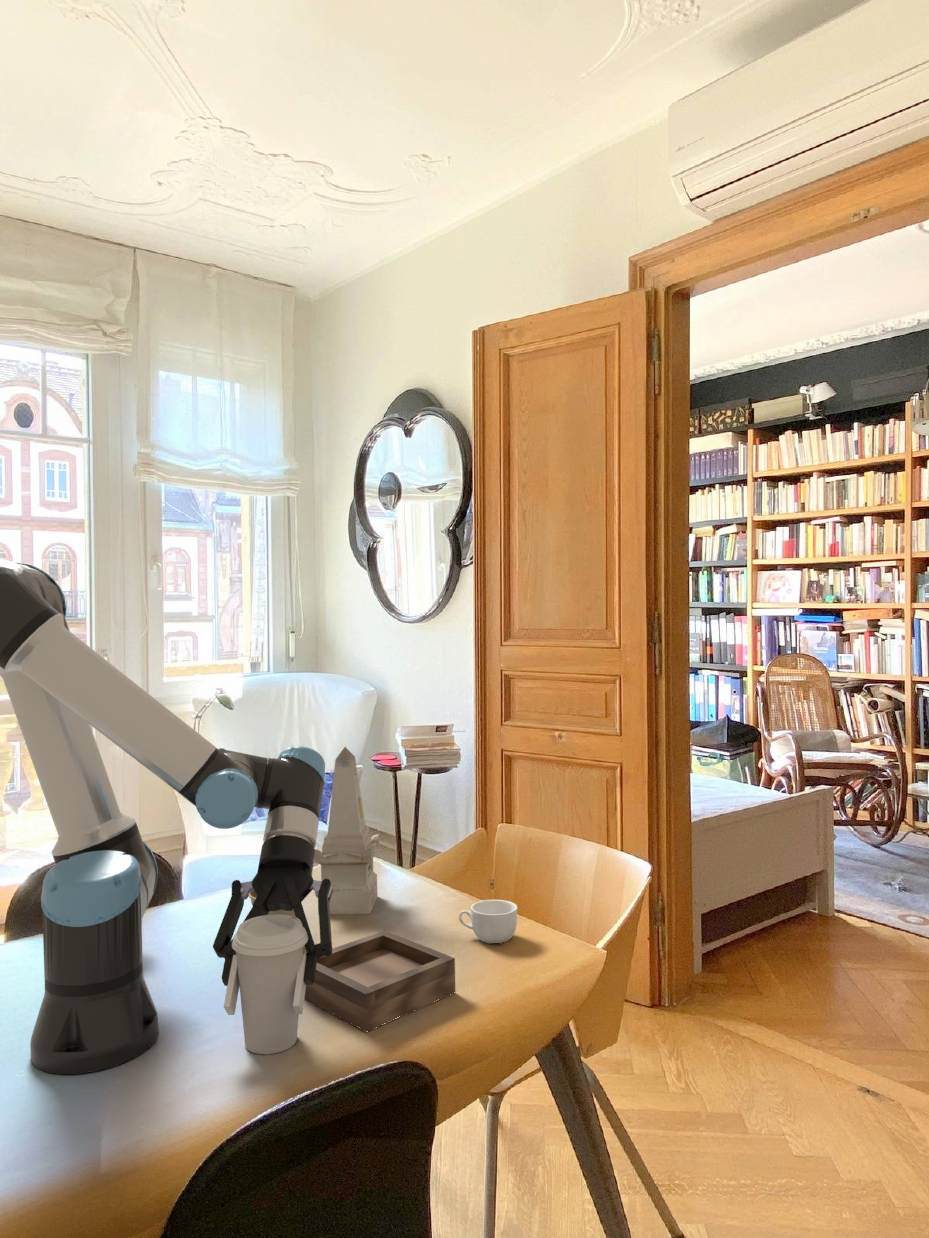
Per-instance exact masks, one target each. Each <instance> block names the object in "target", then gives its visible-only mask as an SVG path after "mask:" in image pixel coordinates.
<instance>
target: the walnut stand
mask: <svg viewBox="0 0 929 1238" xmlns="http://www.w3.org/2000/svg"><path fill="white" fill-rule="evenodd" d="M455 959H456V958H455V957H453V956H450V955H448V954H445V953H443V952H440V951H438V950H435V949H433V948H430V947H428V946H426V945H422V944H421V943H418V942H416V941H413V940H410V939H408V938H406V937H403V936H400V935H398V934H396V933H392V932H390V931H388V930H385V929H384V930H382V931H379V932H376V933H373V934H370V935H367V936H364V937H361V938H358V939H356V940H353V941H350V942H348V943H345V944H342V945H341V944H340V945H339V946H335V947H332V954H331V955H330V956H323V957H320V958H319V959H318V960H317V965H316V973H315V981H314V983H313V985H306V990H305V998H304V1000H307V1001H308V1002H310V1003H312V1004H314V1005H316V1006H317V1007H319V1006H320V1007H319V1008H321V1007H322V1008H321V1009H323V1010H325V1009H326V1010H325V1011H327V1012H328V1011H329V1013H330V1012H331V1014H332V1013H334V1014H335V1015H334V1014H333V1015H334V1016H336V1015H337V1016H336V1017H338V1016H339V1017H341V1018H342V1019H341V1018H340V1019H341V1020H343V1021H345V1020H346V1021H345V1022H347V1023H349V1024H350V1023H352V1024H353V1025H352V1024H351V1025H352V1026H354V1025H355V1026H354V1027H356V1026H358V1027H360V1028H361V1029H362V1031H363V1030H365V1031H369V1030H371V1031H373V1030H375V1029H377V1028H376V1027H378V1026H380V1025H382V1024H384V1023H387V1022H388V1021H391V1020H393V1019H395V1018H397V1017H399V1016H402V1015H405V1014H407V1013H409V1014H411V1013H413V1011H414V1010H416V1011H418V1010H420V1009H422V1008H421V1007H423V1006H425V1007H426V1005H427V1004H429V1005H431V1004H430V1003H432V1002H434V1001H436V1000H438V999H441V998H443V997H445V996H447V997H449V996H451V995H450V994H452V993H454V992H455V993H456V963H455V962H456V960H455ZM455 993H454V994H455ZM452 995H453V994H452ZM445 998H446V997H445ZM443 999H444V998H443ZM441 1000H442V999H441ZM438 1001H439V1000H438ZM436 1002H437V1001H436ZM434 1003H435V1002H434ZM432 1004H433V1003H432ZM427 1006H428V1005H427ZM419 1008H420V1009H419ZM423 1008H424V1007H423ZM417 1009H418V1010H417ZM410 1012H411V1013H410ZM414 1012H415V1011H414ZM407 1015H408V1014H407ZM405 1016H406V1015H405ZM339 1017H338V1018H339ZM402 1017H403V1016H402ZM393 1021H394V1020H393ZM391 1022H392V1021H391ZM387 1024H388V1023H387ZM384 1025H385V1024H384ZM382 1026H383V1025H382ZM358 1027H357V1028H358ZM380 1027H381V1026H380ZM374 1028H375V1029H374ZM378 1028H379V1027H378ZM361 1029H360V1030H361ZM365 1031H364V1032H365ZM369 1032H370V1031H369Z"/></svg>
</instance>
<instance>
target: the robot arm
mask: <svg viewBox="0 0 929 1238" xmlns="http://www.w3.org/2000/svg"><path fill="white" fill-rule="evenodd" d="M66 615H67V602H66V597H65V594H64V591H63V590H62V588H61V586H60V585H59V584H58V582H57V581H56V580H55V579H54V578H53V577H51V576H50V574H48V573H47V572H45V570H42V569H41V568H39V567H36V566H34V565H30V564H27V563H21V562H14V561H9V560H5V559H0V677H1V678H2V680H3V683H4V686H5V688H6V692H7V695H8V697H9V700H10V703H11V706H12V708H13V711H14V714H15V717H16V721H17V722H18V725H19V728H20V732H21V735H22V737H23V739H24V742H25V744H26V748H27V751H28V753H29V756H30V759H31V762H32V765H33V768H34V770H35V773H36V776H37V779H38V782H39V784H40V788H41V790H42V793H43V796H44V798H45V802H46V804H47V807H48V810H49V813H50V816H51V819H52V821H53V825H54V827H55V830H56V833H57V836H58V838H57V841H56V842H55V845H54V846H53V849H52V850H51V855H52V858H53V860H54V863H55V864H54V865H53V866H52V867H51V868H50V869H49V870H48V871H47V872H46V874H45V876H44V878H43V881H42V889H41V890H42V891H41V895H40V904H41V905H40V908H41V909H42V937H43V939H42V940H43V941H42V943H43V972H44V973H43V975H44V994H43V998H42V1001H41V1005H40V1007H39V1011H38V1015H37V1018H36V1021H35V1025H34V1027H33V1030H32V1034H31V1037H30V1061H31V1063H32V1065H33V1066H34V1067H35V1068H37V1069H39V1070H40V1071H43V1072H45V1073H46V1072H47V1073H49V1074H50V1073H52V1074H57V1075H59V1074H60V1075H77V1074H79V1075H80V1074H86V1073H87V1074H88V1073H93V1072H97V1071H98V1072H99V1071H101V1070H102V1071H103V1070H105V1069H109V1068H112V1067H115V1066H119V1065H121V1064H124V1063H126V1062H128V1061H130V1060H133V1059H134V1058H136V1057H138V1056H139V1055H141V1054H143V1053H144V1052H145V1051H147V1050H148V1049H149V1048H150V1047H152V1046H153V1044H154V1043H155V1042H156V1040H157V1038H158V1037H159V1015H158V1011H157V1008H156V1006H155V1003H154V1001H153V998H152V996H151V993H150V991H149V989H148V985H147V983H146V980H145V978H144V974H143V973H144V971H143V970H144V965H143V959H144V958H143V928H142V927H143V918H144V915H145V913H146V911H147V908H148V906H149V904H150V902H151V900H152V899H153V898H152V897H153V896H154V894H155V892H156V888H157V883H158V878H159V877H158V874H159V870H158V869H159V868H158V864H157V860H156V859H157V858H156V857H155V855H154V852H153V851H152V849H151V848H150V847H149V845H148V844H147V843H146V842H145V841H143V839H142V836H141V833H140V830H139V827H138V825H137V824H138V823H137V820H136V819H135V818H133V817H130V816H128V815H125V814H123V812H121V810H120V807H119V805H118V801H117V799H116V795H115V792H114V789H113V787H112V785H111V780H110V779H109V776H108V773H107V769H106V767H105V764H104V760H103V759H102V755H101V752H100V750H99V746H98V743H97V740H96V738H95V735H94V732H93V730H92V727H93V728H94V729H95V730H96V731H98V732H99V733H100V734H102V735H103V736H104V737H106V738H107V739H108V740H109V741H110V742H112V743H113V744H115V745H116V746H117V747H118V748H120V749H121V750H122V751H123V752H125V753H126V754H128V755H129V756H130V757H132V758H133V759H134V760H136V761H137V762H138V763H139V764H141V765H142V766H144V767H145V768H146V769H147V770H149V771H150V772H151V773H152V774H153V775H155V776H156V777H158V778H159V779H160V780H161V781H163V782H164V783H165V784H166V785H168V786H169V787H171V788H172V789H173V790H175V791H176V792H177V793H178V794H179V795H181V796H182V797H183V798H184V799H185V800H187V801H188V803H189V802H190V804H192V805H193V806H194V807H195V808H196V811H197V812H198V813H199V815H200V817H201V819H202V820H203V821H204V822H205V823H206V824H207V825H208V826H209V825H210V826H211V827H213V828H216V829H221V830H222V829H223V830H224V829H225V830H226V829H227V830H228V829H233V828H236V827H238V826H240V825H242V824H243V823H244V822H246V821H247V820H248V819H250V816H251V815H252V813H253V811H254V809H255V808H257V809H265V810H268V811H267V812H268V813H267V819H266V822H265V828H264V834H263V839H262V840H263V841H262V842H263V844H262V845H261V850H260V854H259V855H260V856H259V861H258V867H257V873H256V874H255V876H254V877H253V878H252V880H249V881H245V882H244V881H243V882H241V881H240V880H238V879H235V880H233V881H232V882H231V896H230V899H229V901H228V905H227V907H226V909H225V913H224V915H223V916H222V917H223V918H222V920H221V923H220V926H219V928H218V932H216V933H217V934H216V936H215V939H214V941H213V944H212V949H213V950H214V952H215V954H216V956H217V957H218V958H220V959H222V958H223V959H224V963H223V968H222V973H221V982H222V983H223V985H224V986H225V987H226V992H225V999H224V1003H223V1009H224V1010H225V1012H226V1013H227V1015H228V1016H235V1015H236V1013H235V1012H236V1007H237V1003H238V996H239V993H240V986H239V976H238V966H237V957H236V951H235V950H234V949H233V948H232V942H233V938H234V935H235V933H234V932H235V931H236V928H237V925H238V923H239V920H240V916H241V914H242V911H243V909H244V905H245V900H248V898H249V893H250V892H251V891H253V890H254V891H255V893H256V895H257V898H256V899H255V901H254V903H253V905H252V907H251V909H250V910H249V912H248V913H247V915H246V916H245V918H244V920H243V922H244V921H246V920H248V919H251V918H254V917H258V916H263V915H268V913H269V912H270V911H277V910H285V911H292V909H293V910H294V913H295V916H296V918H298V919H300V921H301V923H302V926H303V927H304V928H305V930H306V932H307V936H308V941H307V943H306V944H305V945H304V950H305V951H306V953H303V958H302V962H301V965H300V968H299V970H298V972H297V979H296V986H295V994H294V1001H293V1007H294V1009H295V1012H296V1014H299V1015H303V1013H304V1012H303V1011H304V1007H305V1005H304V1004H305V990H306V985H313V983H314V981H315V973H316V965H317V960H318V959H319V958H320V957H323V956H330V955H331V954H332V949H333V942H332V941H333V940H332V927H331V925H332V924H331V914H330V907H329V902H330V899H331V895H332V892H333V889H332V885H331V882H330V880H329V879H324V880H323V881H321V880H317V879H314V878H313V870H314V869H313V868H314V864H315V863H314V855H315V849H316V845H317V840H318V831H319V825H320V823H319V822H320V814H321V810H322V809H321V807H322V803H323V795H324V789H325V788H324V787H325V784H326V783H325V772H326V762H325V760H324V757H323V756H322V754H320V753H319V752H318V751H317V750H316V749H313V748H311V747H307V746H302V745H301V746H297V747H293V746H290V747H287V748H285V749H283V750H282V751H281V752H280V754H279V755H278V758H274V757H273V758H272V757H264V756H259V755H254V754H249V753H245V752H239V751H233V750H228V749H225V748H222V747H219V748H218V747H216V746H215V745H214V744H212V743H211V742H210V741H209V740H207V739H206V738H205V737H204V736H202V735H201V734H200V733H199V732H198V731H196V729H194V728H192V727H191V726H190V725H189V724H188V723H186V722H185V721H183V720H182V718H180V717H178V716H177V715H176V714H175V713H174V712H172V711H171V710H170V709H169V708H167V707H166V706H165V705H164V704H162V703H161V702H160V701H159V700H157V699H156V698H155V697H154V696H152V695H151V694H149V692H147V691H146V690H144V689H143V688H142V687H141V686H139V684H137V683H136V682H134V680H132V679H131V678H130V677H128V676H127V675H126V674H125V673H123V672H122V671H120V670H119V669H118V668H117V667H116V666H115V665H113V664H112V663H110V662H109V661H108V660H107V659H106V658H105V657H103V656H101V655H100V654H99V653H98V652H97V651H95V650H94V649H93V648H91V647H90V646H89V645H88V644H87V643H86V642H84V641H82V640H81V638H79V637H77V635H75V634H74V633H73V632H72V631H70V629H69V624H68V622H67V620H66V619H67V618H66ZM312 891H314V894H315V897H316V898H317V909H318V908H319V914H318V921H319V941H320V943H317V944H315V941H314V939H313V935H312V932H311V928H310V926H309V923H308V919H307V917H306V913H305V910H304V907H303V903H302V902H303V901H304V900H305V898H307V897H308V896H309V894H310V893H311V892H312ZM243 922H242V923H243Z"/></svg>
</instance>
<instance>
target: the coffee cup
mask: <svg viewBox="0 0 929 1238" xmlns="http://www.w3.org/2000/svg"><path fill="white" fill-rule="evenodd" d="M243 921H244V920H243ZM233 937H234V938H233ZM233 937H232V939H233V942H232V948H233V949H234V950H235V951H236V957H237V966H238V976H239V995H240V1004H241V1005H240V1006H241V1015H242V1017H241V1018H242V1024H243V1025H242V1027H243V1038H244V1047H245V1048H246V1049H247V1050H248V1051H249V1052H251V1053H253V1054H258V1055H272V1054H277V1053H281V1052H284V1051H286V1050H289V1049H291V1048H292V1047H293V1046H294V1045H295V1044H296V1042H297V1039H298V1029H299V1016H300V1014H296V1012H295V1009H294V1007H293V1001H294V994H295V986H296V979H297V972H298V970H299V968H300V965H301V962H302V958H303V954H304V952H305V944H306V943H307V941H308V936H307V932H306V930H305V928H304V927H303V926H302V923H301V921H300V919H298V918H296V917H294V916H290V915H282V914H272V915H263V916H258V917H254V918H251V919H248V920H246V921H244V922H241V923H240V925H238V928H237V931H236V933H234V935H233Z"/></svg>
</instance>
